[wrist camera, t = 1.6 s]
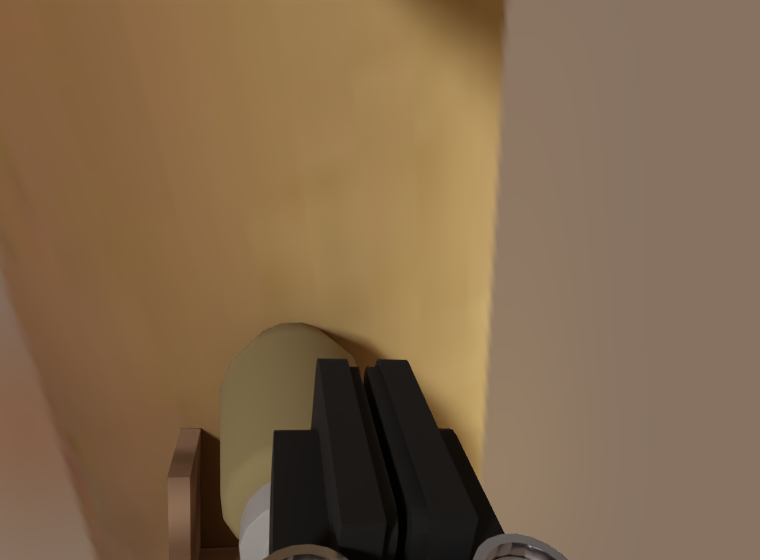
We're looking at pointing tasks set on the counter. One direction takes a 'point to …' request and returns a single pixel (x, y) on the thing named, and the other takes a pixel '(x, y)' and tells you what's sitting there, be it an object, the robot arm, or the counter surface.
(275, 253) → the counter surface
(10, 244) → the counter surface
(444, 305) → the counter surface
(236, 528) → the squeeze bottle
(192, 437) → the walnut holder
